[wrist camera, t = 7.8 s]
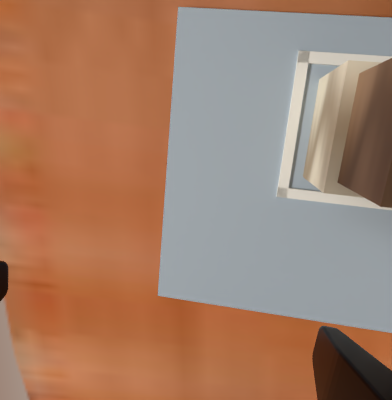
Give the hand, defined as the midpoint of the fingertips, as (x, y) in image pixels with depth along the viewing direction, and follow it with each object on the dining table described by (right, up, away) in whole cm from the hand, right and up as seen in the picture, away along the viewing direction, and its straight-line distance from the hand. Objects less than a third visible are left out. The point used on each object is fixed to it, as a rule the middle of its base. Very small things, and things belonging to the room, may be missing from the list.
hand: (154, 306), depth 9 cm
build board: (+7, +4, +11) cm, 14 cm away
